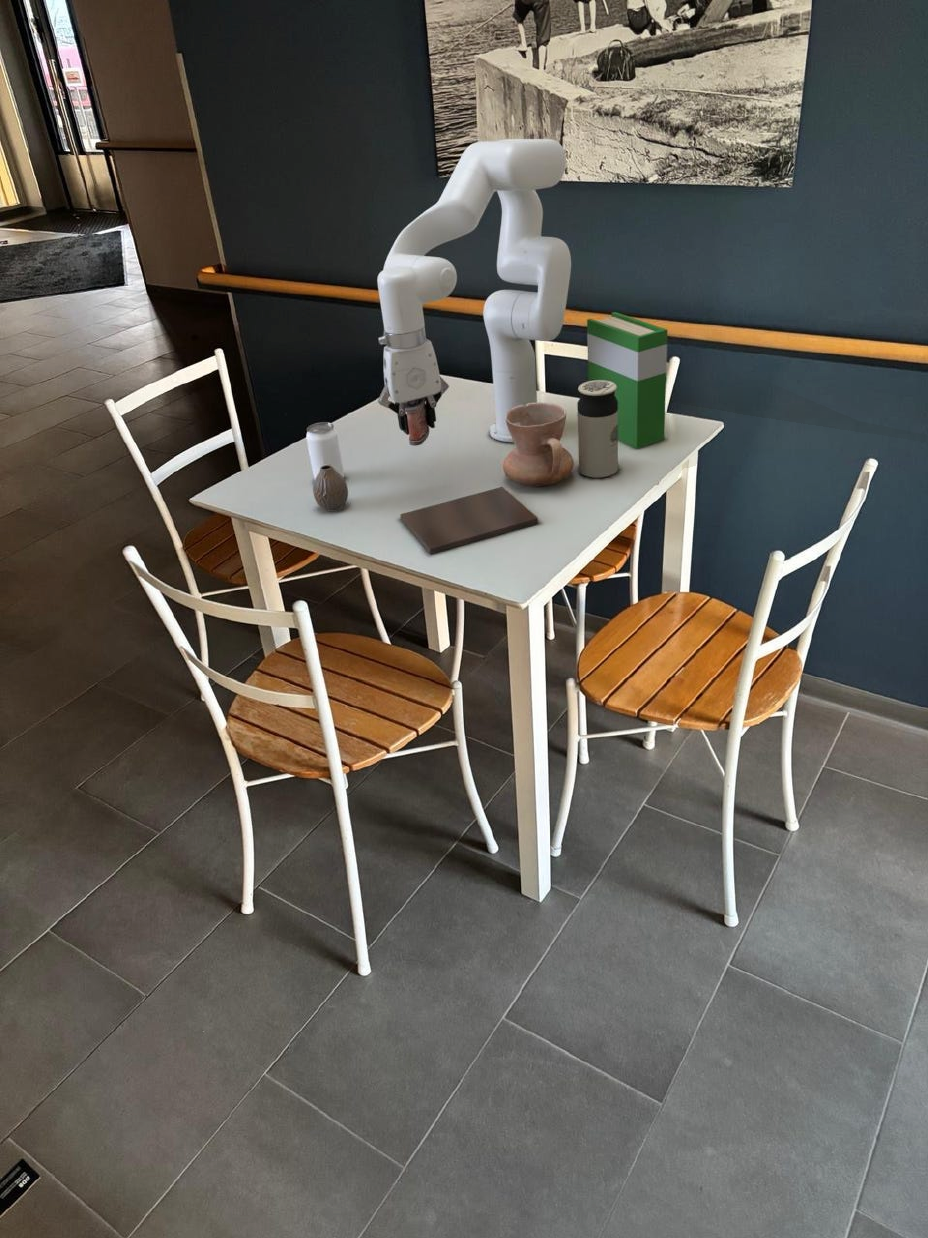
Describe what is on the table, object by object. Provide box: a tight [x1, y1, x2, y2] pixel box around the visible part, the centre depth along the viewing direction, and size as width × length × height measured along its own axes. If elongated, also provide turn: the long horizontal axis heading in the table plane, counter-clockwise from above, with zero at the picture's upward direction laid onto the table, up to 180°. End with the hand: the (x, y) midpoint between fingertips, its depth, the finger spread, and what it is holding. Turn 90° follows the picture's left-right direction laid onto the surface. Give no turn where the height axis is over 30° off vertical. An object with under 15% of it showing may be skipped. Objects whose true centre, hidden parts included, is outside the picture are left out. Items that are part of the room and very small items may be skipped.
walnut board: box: [399, 486, 539, 555], centre depth 181 cm, size 22×16×1 cm
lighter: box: [405, 397, 430, 447], centre depth 183 cm, size 8×3×10 cm, turn 168°
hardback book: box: [586, 311, 669, 450], centre depth 203 cm, size 18×7×24 cm, turn 29°
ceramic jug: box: [502, 401, 575, 487], centre depth 190 cm, size 18×14×14 cm
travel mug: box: [576, 380, 619, 479], centre depth 190 cm, size 8×8×18 cm
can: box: [305, 421, 345, 481], centre depth 199 cm, size 6×6×12 cm
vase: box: [312, 465, 349, 512], centre depth 189 cm, size 7×7×9 cm
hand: (418, 428), depth 185 cm, fingers closed on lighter, 4 cm apart
